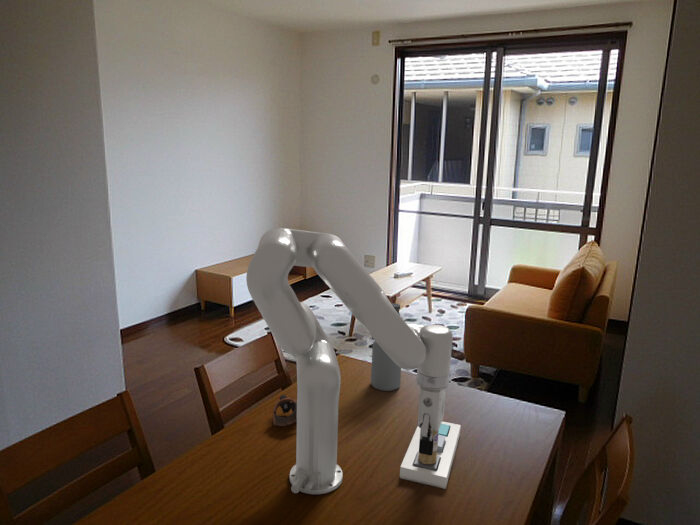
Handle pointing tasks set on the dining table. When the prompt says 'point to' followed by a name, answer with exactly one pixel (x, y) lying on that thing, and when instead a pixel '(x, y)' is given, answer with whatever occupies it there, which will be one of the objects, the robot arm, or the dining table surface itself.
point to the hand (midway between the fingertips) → (427, 447)
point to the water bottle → (384, 367)
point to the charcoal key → (427, 466)
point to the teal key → (444, 430)
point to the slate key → (441, 443)
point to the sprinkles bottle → (433, 458)
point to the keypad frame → (446, 457)
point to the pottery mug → (285, 411)
